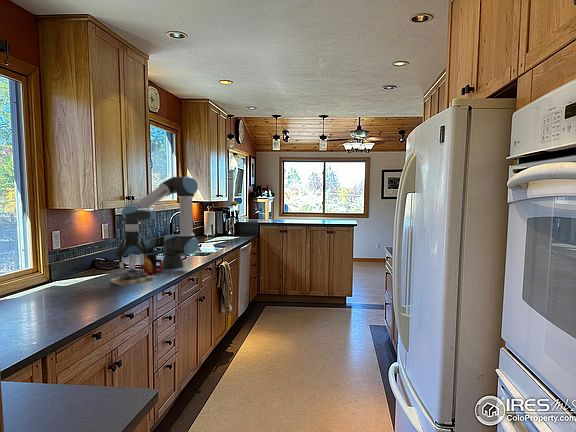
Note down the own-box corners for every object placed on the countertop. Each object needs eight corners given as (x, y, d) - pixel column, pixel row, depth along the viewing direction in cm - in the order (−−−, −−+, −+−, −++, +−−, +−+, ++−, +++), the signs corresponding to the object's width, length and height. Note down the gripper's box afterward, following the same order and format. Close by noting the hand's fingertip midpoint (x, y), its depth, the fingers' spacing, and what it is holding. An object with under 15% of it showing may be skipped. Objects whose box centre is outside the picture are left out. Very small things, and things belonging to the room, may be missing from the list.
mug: (161, 275, 249) (161, 256, 248) (139, 275, 247) (139, 257, 246) (164, 272, 259) (164, 254, 258) (143, 272, 257) (143, 254, 256)
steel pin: (133, 277, 234) (133, 254, 233) (136, 277, 232) (136, 254, 231) (127, 277, 231) (127, 254, 230) (131, 278, 229) (131, 255, 228)
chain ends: (139, 276, 243) (139, 267, 243) (152, 280, 235) (152, 270, 235) (110, 282, 227) (110, 272, 227) (124, 286, 219) (124, 275, 219)
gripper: (146, 228, 242) (146, 262, 243) (108, 232, 221) (108, 268, 223) (153, 229, 237) (153, 263, 239) (115, 233, 217) (116, 270, 218)
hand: (132, 266), depth 231 cm, fingers open, 13 cm apart
